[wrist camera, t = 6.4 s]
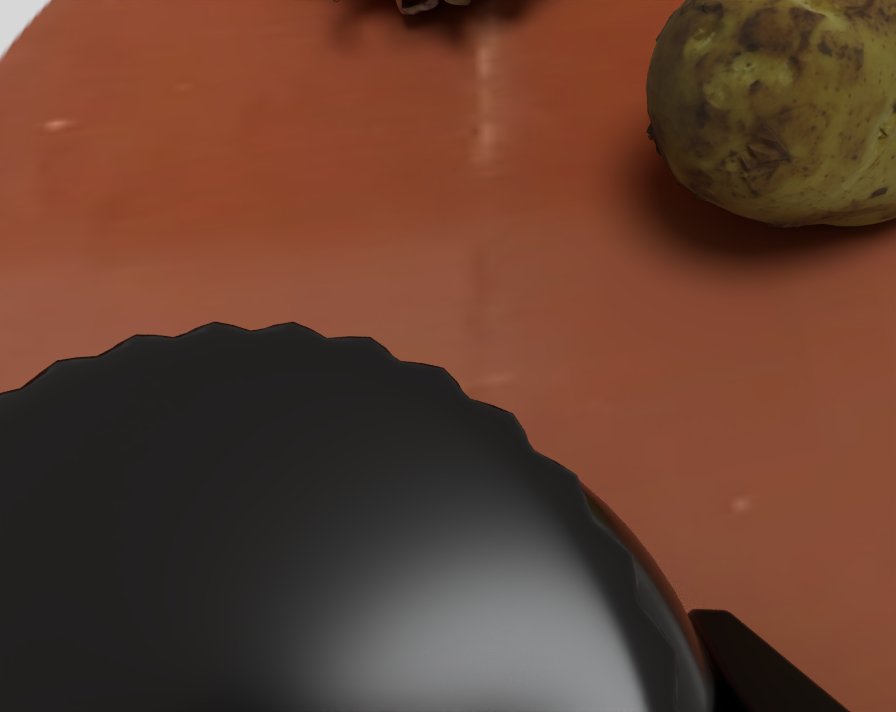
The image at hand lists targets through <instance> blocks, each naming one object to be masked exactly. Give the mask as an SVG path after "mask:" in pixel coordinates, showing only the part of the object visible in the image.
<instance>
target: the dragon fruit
mask: <svg viewBox="0 0 896 712" xmlns="http://www.w3.org/2000/svg"><path fill="white" fill-rule="evenodd" d="M333 1H335V2H339V1H340V0H333ZM421 1H422V0H396V3H397V6H398V8H399V10H400V12H401V13H402V14H409V15H411V14H412V15H413V14H414V15H415V14H417V13H419V12H421V11H427V10H430V9H432V8H434V7H436V6H437V5H438V3H439V0H425V1H423V2H421ZM445 1H446V2H448V3H450V4H454V5H469V4H470V2H471V0H445ZM420 2H421V3H420Z"/></svg>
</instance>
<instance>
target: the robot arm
mask: <svg viewBox="0 0 896 712" xmlns="http://www.w3.org/2000/svg"><path fill="white" fill-rule="evenodd" d="M688 617H689V619H690V621H691V623H692V624H693V626H694V628H695V631H696V633H697V635H698V638H699V640H700V643H701V645H702V647H703V650H704V652H705V654H706V657H707V659H708V661H709V664H710V666H711V669H712V672H713V675H714V679H715V682H716V685H717V688H718V691H719V694H720V697H721V700H722V703H723V706H724V710H725V712H850V711H849V710H847V709H846V708H845V707H844V706H843V705H841V704H840V703H839V702H838V701H837V700H835V699H834V698H833V697H832V696H831V695H829V694H828V693H827V692H826V691H825V690H823V689H822V688H821V687H820V686H819V685H817V684H816V683H815V682H814V681H812V680H811V679H810V678H809V677H808V676H806V675H805V674H804V673H803V672H802V671H800V670H799V669H798V668H797V667H796V666H794V665H793V664H792V663H791V662H790V661H788V660H787V659H786V658H785V657H783V656H782V655H781V654H780V653H779V652H777V651H776V650H775V649H774V648H773V647H771V646H770V645H769V644H768V643H767V642H765V641H764V640H763V639H762V638H761V637H759V636H758V635H757V634H756V633H755V632H753V631H752V630H751V629H750V628H748V627H747V626H746V625H745V624H744V623H742V622H741V621H740V620H739V619H738V618H736V617H735V616H734V615H733V614H731V613H730V612H728V611H726V610H712V609H692V610H691V611H690V612H689V613H688Z"/></svg>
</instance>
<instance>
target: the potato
mask: <svg viewBox="0 0 896 712" xmlns="http://www.w3.org/2000/svg"><path fill="white" fill-rule="evenodd" d="M656 42H657V43H656V46H655V48H654V52H653V55H652V58H651V61H650V66H649V70H648V75H647V85H646V91H647V107H648V114H649V118H650V121H651V123H650V126H649V127H648V129H647V133H648V134H650V135H649V136H648V137H649V139H650V140H653V141H654V142H655V143H656V151H657V153H658V154H659V155H662V156H663V158H664V160H665V162H666V163H667V165H668V166H669V168H670V169H671V171H672V174H673V175H674V177H675V178H676V180H677V182H678V185H680V184H682V185H684V186H685V187H686V188H687V189H689V190H690V191H692V192H693V193H695V195H694V198H696V199H699V200H701V201H707V202H711V203H713V204H715V205H717V206H719V207H721V208H723V209H726V210H728V211H730V212H732V213H734V214H736V215H739V216H743V217H746V218H749V219H753V220H757V221H761V222H765V223H767V226H770V227H782V228H783V227H784V228H786V227H800V226H801V225H813V224H829V225H835V226H862V225H869V224H876V223H880V222H884V221H887V220H891V219H894V218H896V0H686V1H685V2H684V3H683V4H682V5H681V6H680V7H679V9H677V10H676V11H674V12H673V14H672V15H671V16H670V17H669V19H668V21H667V23H666V24H665V26H664V28H663V30H662V31H661V33H660V34H659V36H658V37H657V39H656Z"/></svg>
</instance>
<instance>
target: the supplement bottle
mask: <svg viewBox="0 0 896 712" xmlns="http://www.w3.org/2000/svg"><path fill="white" fill-rule="evenodd" d="M0 712H725V710H724V706H723V703H722V700H721V697H720V694H719V691H718V688H717V685H716V682H715V679H714V675H713V672H712V669H711V666H710V664H709V661H708V659H707V657H706V654H705V652H704V650H703V647H702V645H701V643H700V640H699V638H698V635H697V633H696V631H695V628H694V626H693V624H692V623H691V621H690V619H689V617H688V615H687V613H686V611H685V609H684V607H683V606H682V604H681V602H680V600H679V598H678V596H677V594H676V592H675V591H674V589H673V588H672V586H671V585H670V583H669V582H668V580H667V578H666V577H665V575H664V574H663V572H662V571H661V569H660V568H659V566H658V565H657V563H656V562H655V560H654V559H653V557H652V556H651V555H650V554H649V552H648V551H647V550H646V549H645V547H644V546H643V545H642V543H641V542H640V541H639V540H638V538H637V537H636V536H635V535H634V533H633V532H632V531H631V530H630V529H629V528H628V526H627V525H626V524H625V523H624V522H623V521H622V520H621V519H620V518H619V517H618V516H617V515H616V514H615V513H614V512H613V511H612V509H611V508H610V507H609V506H608V505H607V504H606V503H605V502H603V501H602V500H601V499H600V498H599V497H598V496H597V495H595V494H594V493H593V492H592V491H591V490H590V489H589V488H588V487H586V486H585V485H584V484H583V483H582V482H581V481H579V478H578V476H577V475H576V474H575V473H573V472H571V471H570V470H568V469H567V468H565V467H564V466H562V465H560V464H559V463H557V462H556V461H554V460H552V459H550V458H548V457H546V456H544V455H542V454H540V453H538V452H537V451H535V450H534V449H533V448H532V446H531V445H530V443H529V441H528V438H527V435H526V433H525V431H524V429H523V428H522V426H521V425H520V423H519V422H518V420H517V419H516V417H515V416H514V414H513V413H511V412H508V411H506V410H503V409H501V408H498V407H496V406H494V405H491V404H487V403H484V402H480V401H477V400H473V399H470V398H469V397H468V396H467V395H466V394H465V393H464V392H463V391H462V389H461V387H460V385H459V384H458V382H457V381H456V380H455V379H454V378H453V377H452V376H451V375H450V374H449V373H448V372H447V371H446V370H445V369H444V368H442V367H438V366H433V365H429V364H424V363H416V362H407V361H400V360H398V359H397V358H395V357H394V356H393V355H392V354H391V353H390V352H389V351H388V350H387V349H386V348H385V347H384V346H382V345H381V344H380V343H378V342H377V341H375V340H374V339H372V338H371V337H355V336H347V337H334V338H326V337H324V336H323V335H321V334H319V333H317V332H315V331H314V330H312V329H310V328H308V327H305V326H302V325H300V324H298V323H295V322H288V323H282V324H276V325H272V326H269V327H267V328H264V329H258V330H252V331H250V330H247V329H244V328H241V327H238V326H235V325H230V324H225V323H220V322H212V323H209V324H206V325H203V326H200V327H197V328H194V329H193V330H191V331H189V332H187V333H184V334H181V335H178V336H175V337H170V336H161V335H134V336H132V337H130V338H128V339H126V340H124V341H122V342H120V343H118V344H117V345H115V346H114V347H113V348H111V349H109V350H108V351H106V352H104V353H102V354H100V355H98V356H89V357H76V358H69V359H63V360H57V361H56V362H54V363H53V364H51V365H50V366H49V367H47V368H46V369H44V370H43V371H42V372H40V373H39V374H38V375H36V376H35V377H34V378H33V379H31V380H30V381H29V382H27V383H26V384H25V385H24V386H22V387H21V388H19V389H15V390H10V391H6V392H2V393H0Z"/></svg>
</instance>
